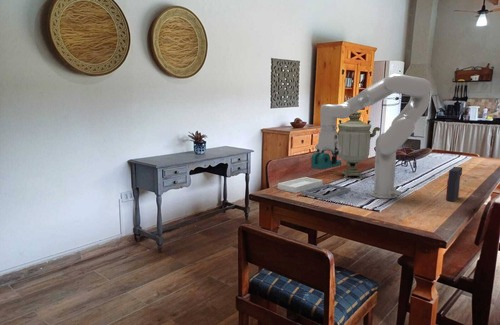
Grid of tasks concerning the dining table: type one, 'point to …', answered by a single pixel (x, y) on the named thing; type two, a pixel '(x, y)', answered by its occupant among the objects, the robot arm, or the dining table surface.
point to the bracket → (322, 161)
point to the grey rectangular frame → (343, 190)
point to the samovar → (354, 142)
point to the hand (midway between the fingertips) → (328, 162)
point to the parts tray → (300, 184)
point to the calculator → (453, 183)
